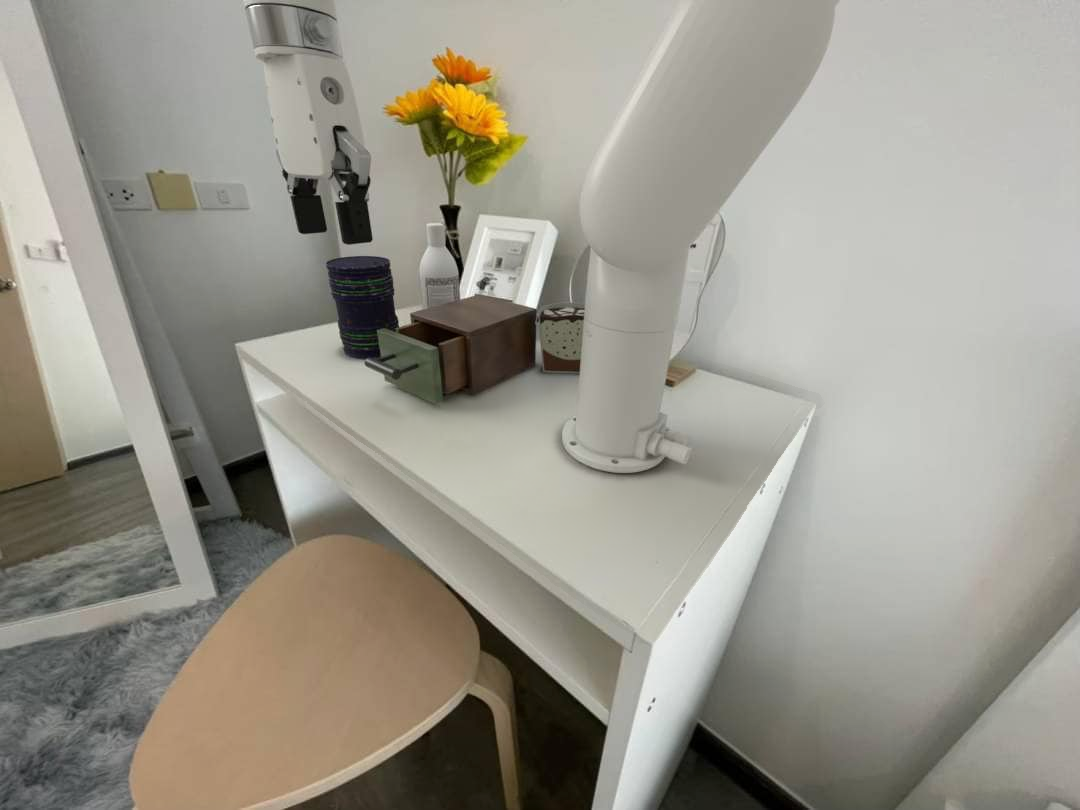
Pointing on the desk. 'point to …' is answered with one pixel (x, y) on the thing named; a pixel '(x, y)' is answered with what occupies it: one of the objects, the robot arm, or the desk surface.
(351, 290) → the storage jar
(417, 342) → the drawer
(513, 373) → the cabinet
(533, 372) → the desk surface
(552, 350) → the food container
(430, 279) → the bath foam
